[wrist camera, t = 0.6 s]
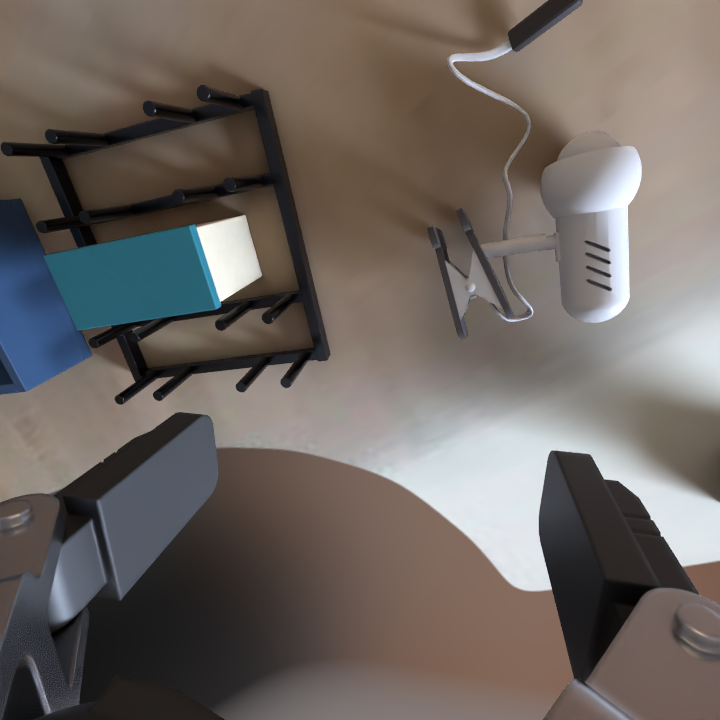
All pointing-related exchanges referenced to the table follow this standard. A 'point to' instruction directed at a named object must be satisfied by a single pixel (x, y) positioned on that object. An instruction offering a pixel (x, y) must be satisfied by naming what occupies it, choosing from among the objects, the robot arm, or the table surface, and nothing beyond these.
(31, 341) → the bin
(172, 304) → the container
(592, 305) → the clip-on lamp
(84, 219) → the dish rack
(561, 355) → the table surface
